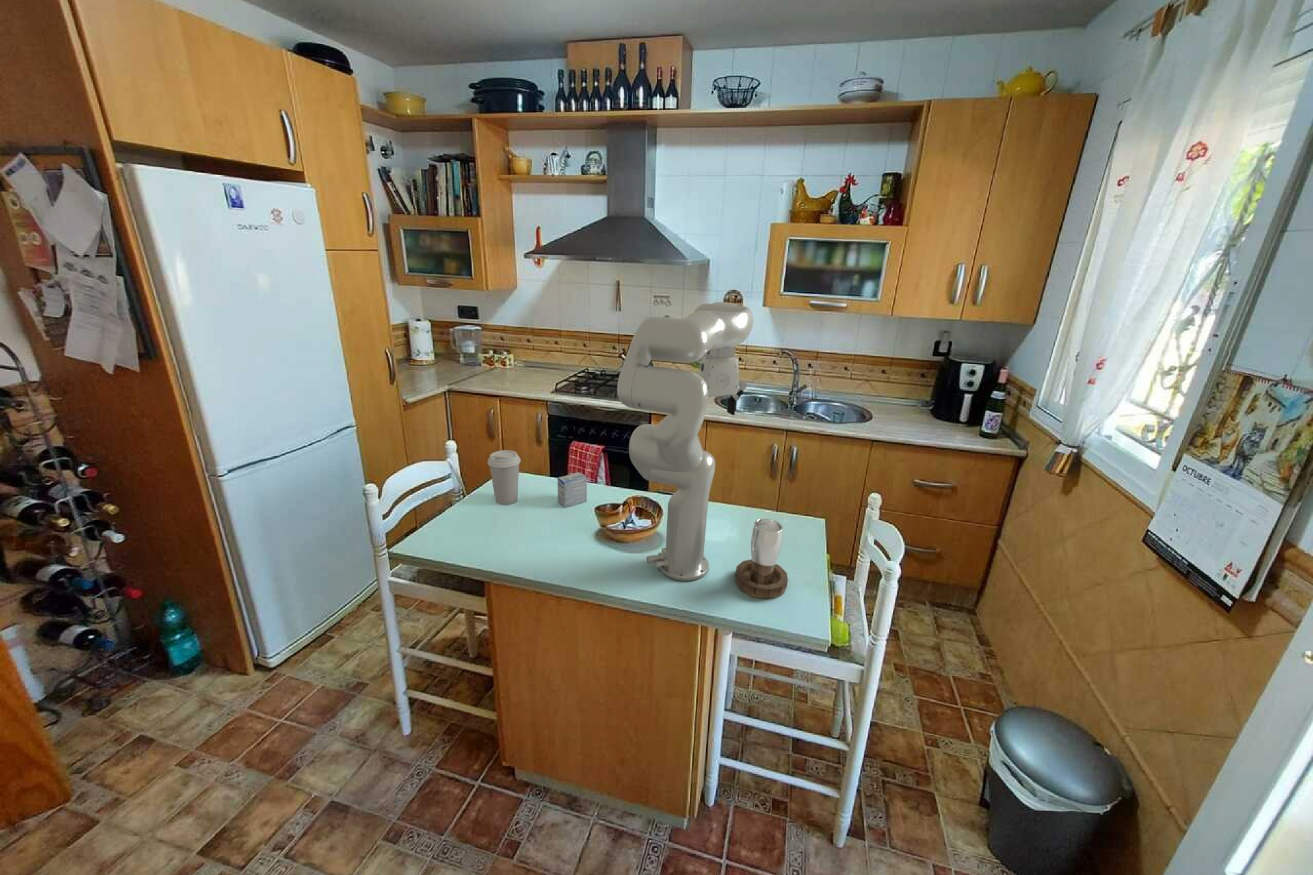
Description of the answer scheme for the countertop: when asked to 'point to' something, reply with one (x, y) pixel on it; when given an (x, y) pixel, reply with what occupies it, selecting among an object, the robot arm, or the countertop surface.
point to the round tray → (758, 589)
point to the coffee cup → (505, 476)
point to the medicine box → (572, 489)
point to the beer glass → (765, 550)
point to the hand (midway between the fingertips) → (714, 414)
